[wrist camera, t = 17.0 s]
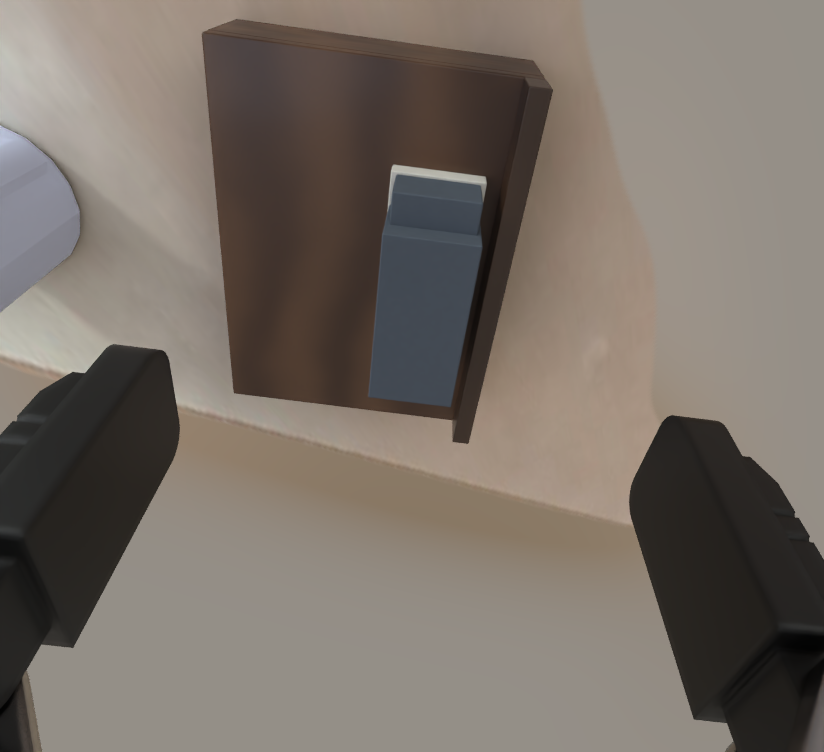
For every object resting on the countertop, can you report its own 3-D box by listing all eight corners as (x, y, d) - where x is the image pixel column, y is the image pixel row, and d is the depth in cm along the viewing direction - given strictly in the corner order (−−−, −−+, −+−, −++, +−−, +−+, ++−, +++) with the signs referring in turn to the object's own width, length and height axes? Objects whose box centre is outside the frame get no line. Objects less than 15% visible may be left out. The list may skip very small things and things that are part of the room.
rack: (254, 349, 41) (223, 414, 35) (235, 18, 29) (184, 38, 23) (466, 375, 41) (468, 444, 36) (534, 60, 29) (553, 89, 24)
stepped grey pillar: (451, 361, 35) (451, 410, 31) (375, 352, 34) (366, 400, 31) (486, 176, 28) (491, 211, 24) (392, 164, 28) (384, 197, 24)
